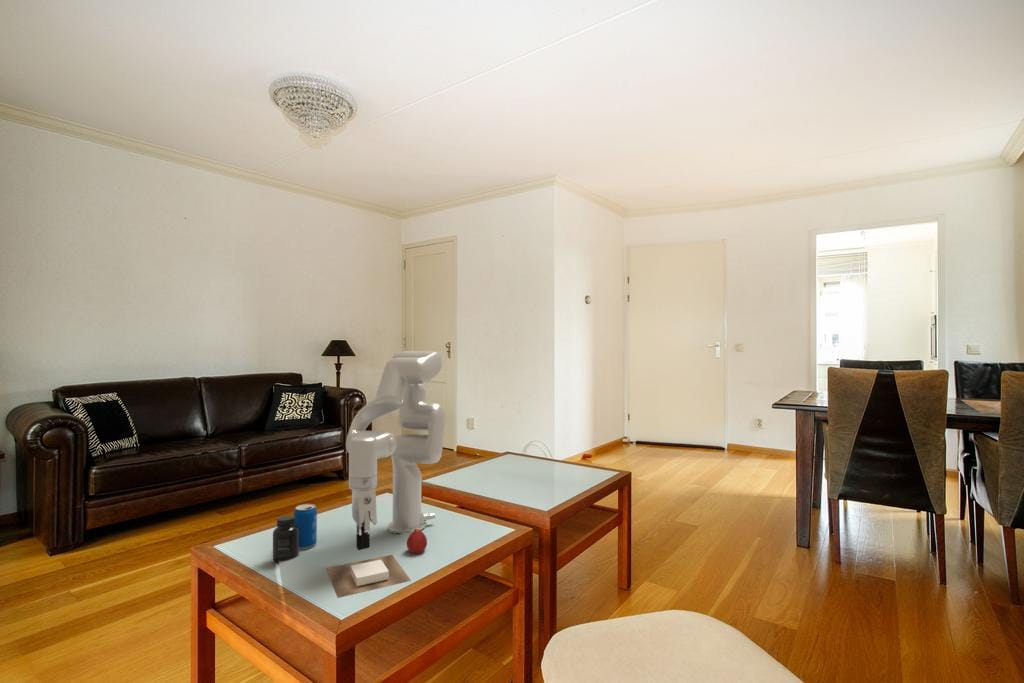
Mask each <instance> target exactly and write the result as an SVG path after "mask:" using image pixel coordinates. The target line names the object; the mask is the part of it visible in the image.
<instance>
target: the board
mask: <svg viewBox="0 0 1024 683" xmlns="http://www.w3.org/2000/svg"><path fill="white" fill-rule="evenodd" d="M376 560H382V562H383V563H384V565H385V566H386V568H387V569H388V571H389V579H387V580H383V581H378V582H374V583H370V584H365V585H361V586H356V584H355V582H354V580H353V578H352V575H351V573H350V572H351V566H352V565H357V564H361V563H366V562H371V561H376ZM325 569H326V571H327V573H328V574H327V575H328V577H329V579H330V581H331V584H332V587H333V589H334V592H335V594H336V597H337V599H339V598H343V597H348V596H352V595H356V594H361V593H366V592H370V591H372V590H373V591H374V590H377V589H382V588H386V587H391V586H394V585H398V584H404V583H407V582H411V581H412V580H411V578H410V577H409V576H408V574H407V573H406V571H405V570H404V568H403V567H402V566H401V564H400V563H399V561H398V560H397V559H396V558H395V556H394V555H393V554H388V555H384V556H379V557H375V558H374V557H373V558H369V559H364V560H360V561H355V562H349V563H344V564H341V565H334V566H331V567H330V566H329V567H326V568H325Z"/></svg>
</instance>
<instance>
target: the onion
mask: <svg viewBox="0 0 1024 683" xmlns="http://www.w3.org/2000/svg"><path fill="white" fill-rule="evenodd" d="M406 546H407V549H408V551H410V553H412V554H420V553H423V552H424V551H425V550H426V548H427V546H428V541H427V536H426V535H425V533H424V532H423V531H422V530H421V531H420V530H419V529H418V528H416V529H415V531H414V532H412V533H409V536H408V538H407V539H406Z"/></svg>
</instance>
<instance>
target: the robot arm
mask: <svg viewBox="0 0 1024 683" xmlns="http://www.w3.org/2000/svg"><path fill="white" fill-rule="evenodd" d="M442 364H443V361H442V357H441V355H440V354H439V352H437V351H434V350H433V351H432V350H404V351H398V352H396V353H394V354H393V356H392V358H390V359H389V360H388V361H387V362H386V363H385V366H384V369H383V372H382V375H381V378H380V380H379V385H378V387H377V390H376V393H375V396H374V397H373V399H371V400H370V401H369V402H368V403H366V404H365V405H364V406H363V407H362V408H361V409H360V410H359V411H358V412H357V413H356V415H355V416H354V417H353V418H352V420H351V422H350V423H351V425H350V427H349V430H348V432H347V436H346V442H345V449H346V452H347V453H348V489H349V490H351V517H352V518H353V521H354V522H355V524H356V534H355V535H356V536H355V537H356V546H355V547H356V549H357V551H361V550H366V549H369V548H370V540H371V539H370V531H371V530H370V529H371V527H370V526H371V523H372V524H373V526H375V525H377V523H378V514H377V513H378V512H377V496H376V488H377V487H378V460H379V459H381V460H382V459H386V458H388V457H390V456H391V458H390V459H391V462H392V521H391V522H389V523H388V525H387V530H388V532H390V533H392V532H393V534H396V533H406V534H411V533H412V532H414V531H415V529H416V528H418V529H419V530H421V529H423V528H424V527H425V526H427V522H426V521H427V520H435V519H436V514H435V512H433V513H430V512H423V511H422V473H421V469H420V468H419V466H418V464H430V465H431V464H436V463H438V462H439V461H440V460H441V458H442V453H443V444H444V434H445V420H446V417H445V414H446V413H445V409H444V407H443V405H441V404H439V403H437V402H426V394H427V389H426V386H425V384H426V383H428V382H430V381H431V380H433V379H434V378H435V377H437V375H439V374H440V372H441V369H442V367H443V366H442ZM397 410H398V417H397V418H398V426H399V427H400V428H401V429H403V430H407V431H422V432H423V431H427V432H428V434H419V433H401V434H398V435H395V434H393V433H392V432H389V431H380V430H379V431H378V430H366V429H367V428H368V426H369V425H370V424H371V423H372V422H373V421H375V420H377V419H378V418H380V417H382V416H385V415H387V414H390V413H392V412H394V411H397ZM425 528H426V527H425ZM425 528H424V529H425ZM424 529H423V530H424ZM421 531H422V530H421Z"/></svg>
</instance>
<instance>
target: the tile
mask: <svg viewBox="0 0 1024 683" xmlns="http://www.w3.org/2000/svg"><path fill="white" fill-rule="evenodd" d="M350 573H351V575H352V578H353V580H354V582H355V584H356V586H361V585H365V584H370V583H374V582H378V581H383V580H387V579H389V571H388V569H387V568H386V566H385V565H384V563H383V562H382V560H376V561H371V562H366V563H361V564H357V565H352V566H351V572H350Z"/></svg>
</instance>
